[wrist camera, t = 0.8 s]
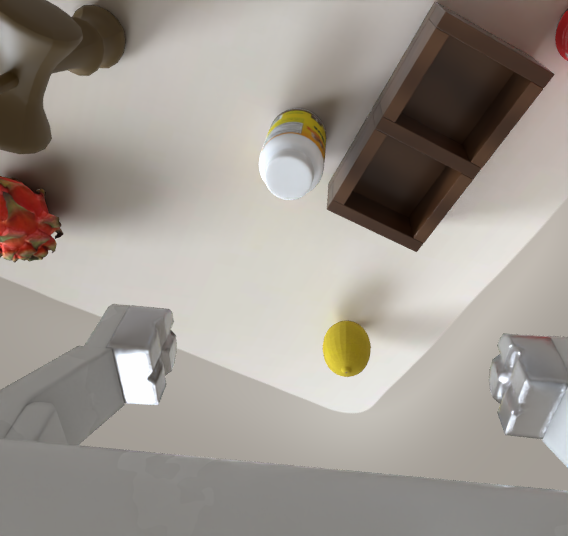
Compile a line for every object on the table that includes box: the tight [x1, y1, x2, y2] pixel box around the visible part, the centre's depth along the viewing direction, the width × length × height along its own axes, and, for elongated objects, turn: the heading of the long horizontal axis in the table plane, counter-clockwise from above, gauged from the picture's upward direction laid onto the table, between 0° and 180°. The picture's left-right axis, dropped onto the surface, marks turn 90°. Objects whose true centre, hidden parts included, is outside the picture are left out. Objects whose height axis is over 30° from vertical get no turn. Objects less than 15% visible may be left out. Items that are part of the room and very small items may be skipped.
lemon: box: [323, 321, 371, 377], centre depth 59 cm, size 6×6×8 cm
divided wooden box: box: [327, 2, 554, 252], centre depth 45 cm, size 19×10×6 cm, turn 155°
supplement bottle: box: [259, 108, 326, 200], centre depth 45 cm, size 6×6×10 cm
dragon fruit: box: [0, 176, 63, 262], centre depth 54 cm, size 8×8×12 cm
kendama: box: [0, 0, 126, 154], centre depth 37 cm, size 6×10×20 cm, turn 148°
